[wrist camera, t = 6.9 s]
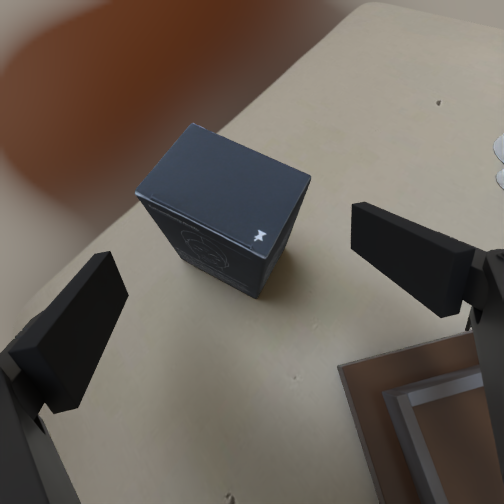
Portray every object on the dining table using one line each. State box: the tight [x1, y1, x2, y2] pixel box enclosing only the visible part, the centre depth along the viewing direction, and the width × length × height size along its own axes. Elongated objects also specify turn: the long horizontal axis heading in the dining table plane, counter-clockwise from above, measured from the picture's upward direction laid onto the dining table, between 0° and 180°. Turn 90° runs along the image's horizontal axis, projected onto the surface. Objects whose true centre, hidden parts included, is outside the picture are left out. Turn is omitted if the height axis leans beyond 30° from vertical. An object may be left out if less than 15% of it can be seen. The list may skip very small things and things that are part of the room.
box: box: [135, 123, 311, 299], centre depth 19 cm, size 8×6×11 cm
